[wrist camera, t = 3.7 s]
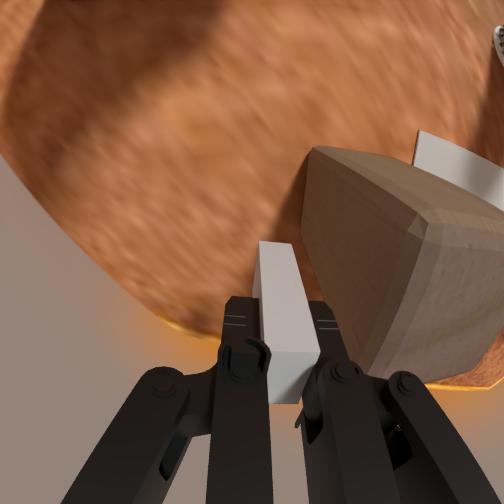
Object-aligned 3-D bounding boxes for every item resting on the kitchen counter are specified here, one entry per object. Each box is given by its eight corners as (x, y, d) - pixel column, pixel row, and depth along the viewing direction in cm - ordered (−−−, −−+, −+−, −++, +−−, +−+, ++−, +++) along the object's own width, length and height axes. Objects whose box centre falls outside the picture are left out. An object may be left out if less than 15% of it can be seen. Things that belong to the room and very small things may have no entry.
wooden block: (379, 242, 30) (476, 375, 12) (296, 236, 29) (348, 404, 12) (396, 157, 25) (548, 239, 7) (307, 143, 25) (429, 214, 7)
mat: (418, 130, 23) (419, 130, 23) (511, 173, 24) (513, 174, 24) (381, 273, 32) (382, 275, 32) (476, 279, 33) (477, 280, 32)
